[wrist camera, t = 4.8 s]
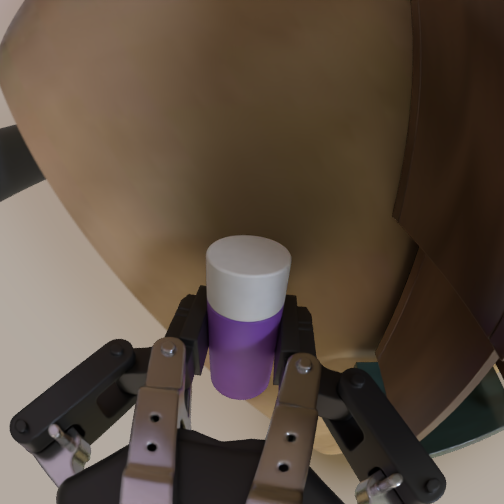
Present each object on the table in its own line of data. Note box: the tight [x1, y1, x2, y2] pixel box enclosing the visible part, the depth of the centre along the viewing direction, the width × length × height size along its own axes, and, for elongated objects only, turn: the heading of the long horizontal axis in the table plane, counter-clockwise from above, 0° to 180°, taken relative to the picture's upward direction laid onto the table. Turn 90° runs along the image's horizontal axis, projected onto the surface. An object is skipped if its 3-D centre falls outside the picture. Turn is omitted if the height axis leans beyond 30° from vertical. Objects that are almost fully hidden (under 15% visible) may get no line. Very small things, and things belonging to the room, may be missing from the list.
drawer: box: [354, 246, 504, 458], centre depth 11 cm, size 19×14×8 cm
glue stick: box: [206, 235, 291, 400], centre depth 12 cm, size 8×3×3 cm, turn 176°
